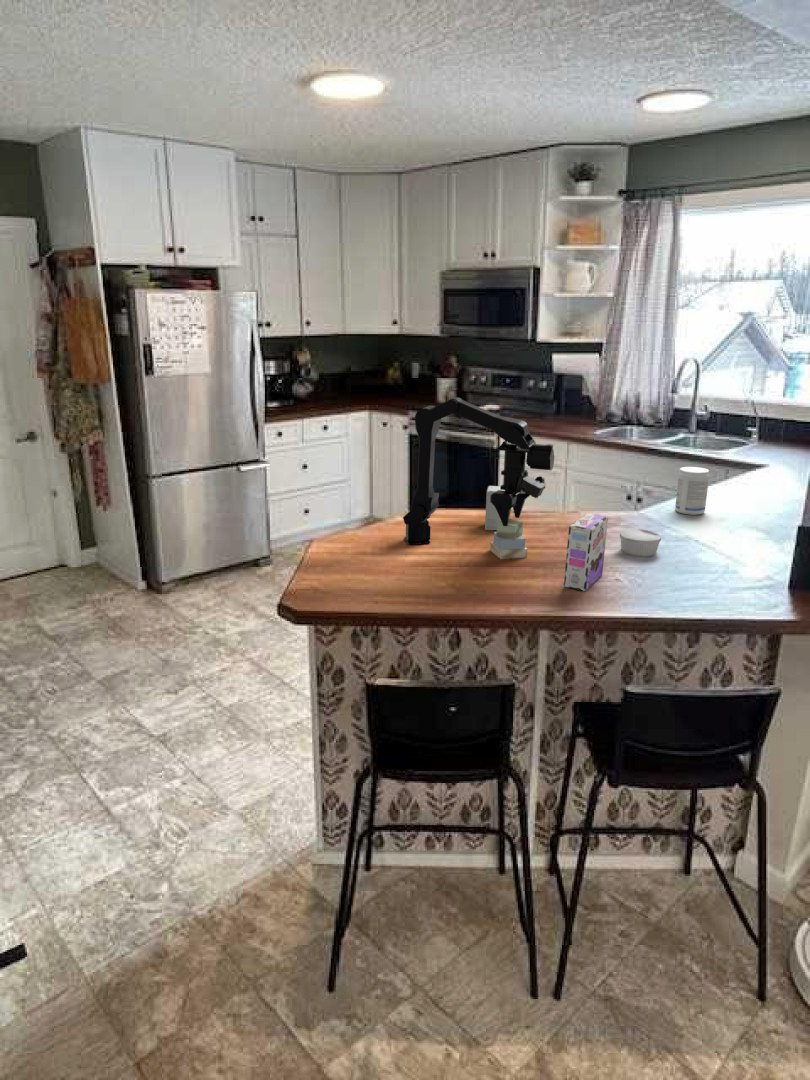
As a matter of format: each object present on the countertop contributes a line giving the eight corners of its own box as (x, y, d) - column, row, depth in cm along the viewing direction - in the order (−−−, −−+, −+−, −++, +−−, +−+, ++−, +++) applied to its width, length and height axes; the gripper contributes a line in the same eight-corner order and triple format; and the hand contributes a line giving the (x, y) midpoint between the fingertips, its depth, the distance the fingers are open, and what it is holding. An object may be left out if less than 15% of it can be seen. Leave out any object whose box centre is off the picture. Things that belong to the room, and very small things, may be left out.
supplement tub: (709, 512, 251) (715, 469, 246) (696, 517, 244) (702, 474, 240) (682, 506, 257) (687, 464, 252) (669, 511, 251) (674, 469, 246)
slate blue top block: (500, 550, 204) (500, 539, 203) (493, 542, 211) (493, 532, 210) (524, 548, 205) (525, 538, 204) (517, 540, 212) (517, 531, 211)
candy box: (585, 592, 182) (591, 528, 177) (562, 587, 185) (568, 524, 180) (603, 575, 193) (609, 515, 188) (581, 571, 196) (586, 511, 191)
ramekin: (665, 551, 212) (668, 534, 210) (648, 561, 204) (650, 543, 202) (629, 543, 219) (631, 526, 217) (611, 552, 211) (613, 534, 210)
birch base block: (500, 561, 205) (500, 551, 204) (490, 552, 212) (490, 542, 211) (527, 559, 206) (527, 548, 205) (516, 549, 214) (516, 540, 213)
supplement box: (508, 531, 228) (510, 492, 224) (484, 530, 229) (485, 490, 225) (509, 524, 235) (511, 486, 231) (486, 523, 236) (488, 485, 232)
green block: (514, 540, 203) (515, 526, 202) (496, 536, 206) (497, 522, 205) (522, 534, 208) (523, 521, 207) (504, 531, 211) (505, 517, 209)
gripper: (530, 477, 189) (527, 535, 194) (553, 463, 205) (550, 517, 210) (490, 472, 195) (488, 528, 200) (516, 459, 210) (513, 512, 215)
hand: (511, 521), depth 206 cm, fingers open, 9 cm apart
